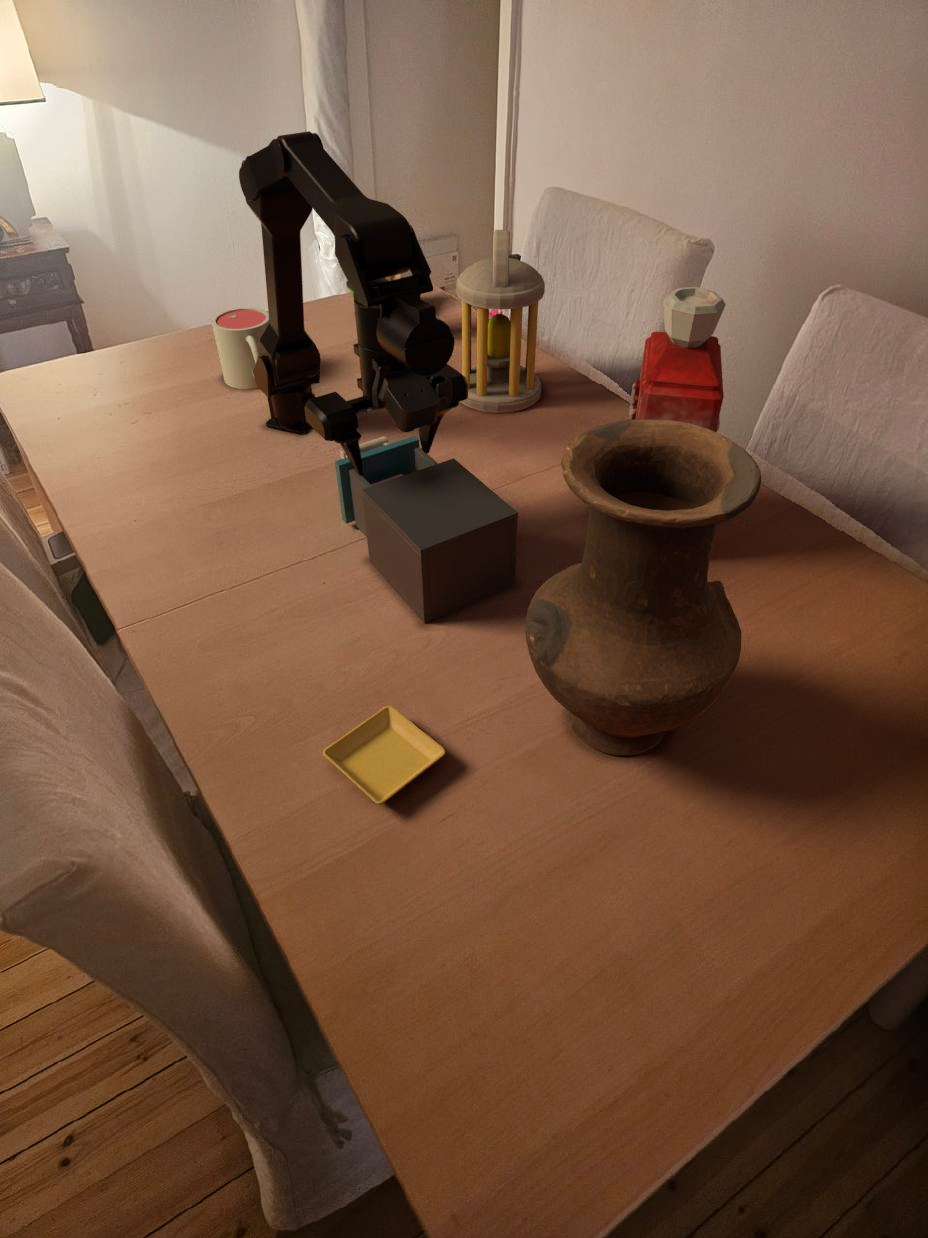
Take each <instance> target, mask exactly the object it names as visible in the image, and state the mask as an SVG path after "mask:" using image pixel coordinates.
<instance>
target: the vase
mask: <svg viewBox="0 0 928 1238" xmlns="http://www.w3.org/2000/svg"><path fill="white" fill-rule="evenodd" d="M560 466H561V468H562V470H563V472H562V476H563V478H564V481H565V483H566V484H567V486H568V488H569V489H570V491H571V492H572V493H573V494H574V495H575V496H576V497H577V498H578V499H580V500H581V502H583V503H584V504H586V505H587V506H589V512H588V514H589V515H588V519H587V526H586V528H587V529H586V538H585V545H584V550H583V556H582V560H581V562H579V563H576V564H573V565H571V566H568V567H567V568H565V569H563V570H561V571H559V572H557V573H556V574H554V575H552V576H551V577H549V578H548V579H546V581H544V583H543V584H542V585H541V586H540V587H539V588H538V589H537V590H536V592H535V593H534V595H533V597H532V598H531V600H530V603H529V606H528V608H527V611H526V615H525V625H524V633H525V641H526V646H527V650H528V654H529V657H530V660H531V662H532V665H533V669H534V671H535V673H536V674H537V676H538V678H539V680H540V681H541V682H542V685H543V686H544V687H545V689H546V690H547V691H548V692H549V694H550V695H551V696H552V697H553V699H554V700H556V702H558V704H559V705H561V707H563V708H564V709H566V711H568V712H569V721H570V722H571V729H572V730H573V732H574V734H575V735H576V736H577V737H579V739H580V740H581V741H583V743H585V744H586V745H587V746H589V747H591V748H592V749H594V750H597V751H598V752H601V753H605V754H607V755H614V756H633V755H634V756H635V755H638V754H642V753H646V752H647V751H650V750H652V749H653V748H655V747H656V746H657V745H658V744H659V743H660V742H661V741H662V739H663V737H664V735H665V733H666V732H667V731H670V730H674V729H677V728H679V727H682V726H684V725H686V724H688V723H689V722H691V721H692V720H694V719H695V718H697V717H698V716H700V715H702V714H703V713H704V712H705V711H706V710H708V709H709V708H710V707H711V706H712V704H714V703H715V702H716V701H717V699H718V698H720V695H721V694H722V693H723V691H724V690H725V689H726V687H727V685H728V684H729V682H730V680H731V679H732V677H733V675H734V673H735V671H736V669H737V666H738V663H739V660H740V657H741V656H740V655H741V651H742V628H741V626H740V623H739V621H738V618H737V615H736V613H735V611H734V609H733V607H732V605H731V602H730V601H729V599H728V597H727V594H726V591H725V586H724V583H723V582H722V581H720V580H713V581H708V574H709V567H710V565H709V564H710V555H711V551H712V548H713V547H712V546H713V542H714V537H715V533H716V529H717V524H721V523H724V522H727V521H729V520H731V519H734V518H735V517H737V516H739V515H740V514H741V513H743V512H745V511H746V510H747V509H748V508H749V507H750V506H751V505H752V504H753V502H754V501H755V499H756V498H757V496H758V494H759V492H760V489H761V485H762V473H761V472H762V471H761V469H760V468H759V465H758V463H757V462H756V460H755V458H753V456H752V455H751V453H749V452H748V451H747V450H745V448H743V447H742V446H740V445H739V444H738V443H736V442H734V441H732V440H731V439H729V438H728V437H726V436H724V435H722V434H720V433H718V432H714V431H712V430H709V429H706V428H703V427H700V426H697V425H693V424H690V423H685V422H680V421H672V420H628V419H625V420H619V421H613V422H607V423H605V424H601V425H597V426H594V427H592V428H590V429H588V430H586V431H583V432H582V433H580V434H578V435H576V437H574V438H573V439H572V440H571V441H570V443H568V444H567V445H566V446H565V449H564V450H563V452H562V457H561V460H560Z"/></svg>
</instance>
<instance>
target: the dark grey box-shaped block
mask: <svg viewBox="0 0 928 1238" xmlns="http://www.w3.org/2000/svg"><path fill="white" fill-rule="evenodd" d="M362 495H363V505H364V514H365V523H366V532H367V537H366V541H367V547H368V548H367V550H368V558H369V559H368V560H369V562H370V564H372V565H373V567H374V568H375V569H376V570H377V571H378V572H379V574H380V575H381V576H382V577H383V579H385V580H386V581H387V582H388V584H389V585H390V586H391V587H392V588H393V589H394V591H395V592H396V593H397V594H398V595H399V596H400V598H402V600H403V601H404V602H405V603H406V604H407V605H408V606H409V607H410V609H411V610H412V611H413V612H414V613H415V614H416V615H417V617H418V618H419V619H420V620H421V621H422V622H423V623H424V624H426V623H428V622H431V621H433V620H436V619H438V618H440V617H443V616H445V615H447V614H450V613H452V612H454V611H457V610H459V609H462V608H464V607H466V606H468V605H471V604H473V603H475V602H478V601H480V600H482V599H484V598H487V597H489V596H492V595H494V594H497V593H499V592H501V591H504V590H506V589H508V588H511V587H512V586H515V583H516V581H515V580H516V561H517V560H516V559H517V542H518V541H517V540H518V538H517V537H518V518H519V512H518V511H517V510H516V509H514V508H513V506H511V505H510V504H508V503H507V502H506V501H505V500H504V499H502V497H500V496H499V495H498V494H497V493H495V492H494V491H493V490H492V489H491V488H490V487H489V486H488V485H486V484H485V483H484V482H482V480H480V479H479V478H478V477H476V476H475V475H474V474H473V473H472V472H471V471H469V469H467V468H466V467H465V466H464V465H463V464H461V462H459V461H458V460H457V459H456V458H450V459H447V460H444V461H441V462H438V464H436V465H433V466H430V467H427V468H424V469H421V470H418V471H415V472H412V473H409V474H406V475H404V476H401V477H398V478H395V479H392V480H389V481H386V482H383V483H380V484H377V485H374V486H371V487H368V488H366V489H363V490H362Z"/></svg>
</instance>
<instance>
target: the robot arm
mask: <svg viewBox="0 0 928 1238" xmlns="http://www.w3.org/2000/svg"><path fill="white" fill-rule="evenodd" d="M238 180H239V185H240V188H241V192H242V194H243V196H244V199H245V203H246V204H247V206H248V207H249V209H250V210H251V212H252V213H253V214H254V215H255V217H256V218H257V220H258V221H259V222H260V227H261V238H262V251H263V262H264V275H265V288H266V301H267V312H268V313H269V325H268V326H267V328H266V330H265V331H264V333H263V335H262V336H261V338H260V340H259V356H260V357H258V359H257V361H256V364H255V367H254V369H253V375H254V378H255V382H256V385H257V386H258V387H259V388H258V389H259V390H260V391H261V392H262V393H263V394H264V395H265V396H266V398H267V403H268V409H269V413H270V419H268V420H267V421H266V422H265V426H266V427H267V428H272V429H276V430H280V431H285V432H290V433H294V434H298V435H300V434H304V433H305V432H306V431H307V430H308V429H309V428H310V427H311V428H312V429H314V431H315V432H316V433H317V434H318V435H319V436H320V437H321V438H322V439H323V440H324V441H328V442H335V443H336V444H340V446H341V448H342V450H344V452H345V453H346V455H347V457H348V459H349V460H350V462H351V464H352V466H353V468H354V469H355V471H356V473H357V474H358V475H359V476H361V475H363V464H362V459H361V453H360V447H359V444H360V442H359V441H360V440H361V438H362V433H360V432H359V431H358V428H359V418H360V417H363V416H366V415H369V414H372V413H375V412H379V411H383V410H385V411H386V412H387V413H388V414H389V416H390V417H391V419H392V420H393V422H394V424H395V426H396V428H397V429H398V430H399V431H400V432H403V433H412V432H414V431H415V430H417V429H418V436H419V438H418V439H419V444H420V448H421V449H422V451H423V452H424V453H425V454H429V453H430V450H431V449H432V445H433V443H434V440H435V437H436V435H437V431H438V429H439V426H440V424H441V422H442V419H443V417H444V416H445V415H446V414H447V413H448V412H450V411H451V410H453V409H456V408H457V407H458V406H459V405H460V403H461V402H460V401H463V400H466V399H467V398H468V382H467V380H466V377H465V376H463V375H462V374H461V373H462V372H459V370H457V369H455V367H452V366H451V365H450V364H449V361H450V360H451V358H452V355H453V353H454V350H455V336H454V335H453V332H452V329H451V328H450V326H449V325H448V324H447V323H446V322H445V321H443V320H442V319H441V318H439V317H438V316H437V307H436V306H435V305H434V304H432V303H430V302H429V301H425V300H423V299H422V295H423V294H428V293H432V292H433V291H434V286H433V282H432V280H431V277H430V276H431V274H432V269H431V267H430V265H429V263H428V261H427V258H426V256H425V255H424V252H423V251H424V250H422V247H421V244H420V242H419V240H418V237H417V235H416V231H415V230H414V227H413V226H412V225H411V224H410V222H409V221H408V219H407V217H405V216H404V215H403V214H402V213H401V212H399V211H398V210H396V209H395V208H394V207H393V206H391V205H390V204H389V203H387V202H384V201H383V202H382V201H379V200H376V199H372V198H369V197H367V196H366V195H365V194H364V193H363V192H362V191H361V190H360V188H359V187H358V186H357V185H356V184H355V183H354V182H353V180H352V179H351V177H349V176H348V175H347V174H346V173H345V171H344V169H342V168H341V166H340V165H338V163H337V162H336V161H335V160H334V158H333V157H332V156H331V155H330V153H328V152H327V150H326V149H325V148H324V144H323V141H322V139H321V137H320V135H319V134H318V133H316V132H313V133H312V132H311V131H309V130H308V131H301V132H294V133H287V134H280V135H277V137H276V138H273V139H272V140H270V141H269V144H268V145H267V146H265V147H263V148H261V149H259V150H257V151H256V152H254V153H253V154H251V155H247V156H246V157H245V159H244V160H242V161H241V166H240V167H239V170H238ZM313 210H314V212H315V213H316V215H318V217H319V218H320V219H321V221H323V223H324V224H325V226H327V228H328V229H329V230H330V231H331V233H332V235H333V236H334V256H335V258H336V259H337V263H338V265H339V267H340V268H341V270H342V273H343V275H344V277H345V278H346V280H347V281H345V283H346V284H345V285H346V287H347V288H348V289H349V291H350V290H352V291H353V292H354V296H353V295H352V298H353V305H354V306H353V307H354V317H355V328H356V338H357V343H353V352H354V354H355V355H356V356H357V357H358V359H359V369H360V377H358V378H356V383H357V385H356V386H357V388H358V389H359V390H360V391H362V396H358V397H356V398H352V399H349V400H346V399H345V398H344V397H343V396H342V395H341V394H340V393H338V392H337V391H332V392H329V393H326V394H322V395H318V396H316V394H315V393H313V386H312V385H317V384H320V380H321V361H322V359H321V353H320V350H319V348H318V346H317V344H316V343H315V341H314V340H313V339H312V338H311V336H310V335H309V334H308V333H307V332H306V329H305V311H304V287H303V286H304V285H303V265H302V241H301V240H302V239H301V231H302V229H303V227H304V226H305V224H306V222H307V220H308V219H309V217H310V215H311V214H312V212H313ZM407 272H410V273H411V275H409V276H405V277H402V278H400V279H395V280H391V281H389V280H388V279H386V278H385V277H389V276H394V275H398V274H401V275H402V274H406V273H407Z"/></svg>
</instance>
